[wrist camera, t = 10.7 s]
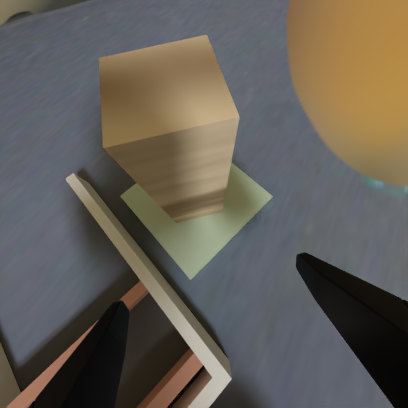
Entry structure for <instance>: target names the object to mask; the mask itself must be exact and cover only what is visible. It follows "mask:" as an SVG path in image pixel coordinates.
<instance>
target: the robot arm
mask: <svg viewBox="0 0 408 408" xmlns="http://www.w3.org/2000/svg"><path fill="white" fill-rule="evenodd" d="M296 268H297V270H298V272H299V274H300V275H301V277H302V279H303V280H304V282H305V284H306V285H307V287H308V289H309V290H310V292H311V294H312V295H313V297H314V299H315V300H316V301H317V303H318V304H319V306H320V307H321V308H322V310H323V311H324V313H325V314H326V315H327V317H328V318H329V319H330V321H331V322H332V323H333V325H334V326H335V328H336V329H337V330H338V332H339V333H340V334H341V336H342V337H343V338H344V340H345V341H346V343H347V344H348V345H349V347H350V348H351V349H352V351H353V352H354V353H355V355H356V356H357V358H358V359H359V360H360V362H361V363H362V364H363V366H364V367H365V368H366V370H367V371H368V373H369V374H370V375H371V377H372V378H373V379H374V381H375V382H376V383H377V385H378V386H379V388H380V389H381V390H382V392H383V393H384V394H385V396H386V397H387V398H388V400H389V401H390V403H391V404H392V405H393V407H394V408H408V301H406V300H402V299H401V298H399V297H397V296H395V295H393V294H391V293H389V292H387V291H385V290H382V289H380V288H378V287H376V286H374V285H372V284H370V283H368V282H366V281H364V280H362V279H360V278H358V277H355V276H353V275H351V274H349V273H347V272H345V271H343V270H341V269H339V268H337V267H335V266H333V265H331V264H328V263H326V262H324V261H322V260H320V259H318V258H316V257H314V256H312V255H310V254H308V253H300V254H297V257H296ZM129 316H130V313H129V309H128V308H127V306H126V305H125V303H124V302H123V301H122V300H120V301H116V302H114V303H112V304H111V306H110V307H109V308H108V309H107V310H106V312H105V313H104V314H103V315H102V317H101V318H100V319H99V320H98V322H97V323H96V324H95V325H94V327H93V328H92V329H91V330H90V332H89V333H88V334H87V335H86V337H85V338H84V339H83V340H82V341H81V343H80V344H79V345H78V346H77V348H76V349H75V350H74V351H73V353H72V354H71V355H70V356H69V358H68V359H67V360H66V361H65V363H64V364H63V365H62V366H61V367H60V369H59V370H58V371H57V372H56V374H55V375H54V376H53V377H52V379H51V380H50V381H49V382H48V384H47V385H46V386H45V387H44V389H43V390H42V391H41V392H40V394H39V395H38V396H37V397H36V399H35V401H33V402H32V403H31V405H30V406H29V407H28V408H115V405H116V400H117V395H118V389H119V384H120V379H121V374H122V369H123V363H124V358H125V353H126V345H127V336H128V326H129Z"/></svg>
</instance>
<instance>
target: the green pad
mask: <svg viewBox="0 0 408 408" xmlns="http://www.w3.org/2000/svg"><path fill="white" fill-rule="evenodd" d="M120 197H121V198H122V199H123V200H124V201H125V203H126V204H127V205H128V206H129V207H130V209H131V210H132V211H133V212H134V213H135V214H136V216H137V217H138V218H139V219H140V220H141V222H142V223H143V224H144V225H145V226H146V228H147V229H148V230H149V231H150V232H151V234H152V235H153V236H154V237H155V238H156V239H157V241H158V242H159V243H160V244H161V245H162V247H163V248H164V249H165V250H166V251H167V253H168V254H169V255H170V256H171V257H172V258H173V260H174V261H175V262H176V263H177V264H178V266H179V267H180V268H181V269H182V270H183V272H184V273H185V274H186V275H187V276H188V277H189V279H190V280H191V279H192V278H193V277H194V276H195V275H196V274H197V273H198V272H199V271H200V270H201V269H202V268H203V267H204V266H205V265H206V264H207V263H208V262H209V261H210V260H211V259H212V258H213V257H214V256H215V255H216V254H217V253H218V252H219V251H220V250H221V249H222V248H223V247H224V246H225V245H226V244H227V243H228V242H229V241H230V240H231V239H232V238H233V237H234V236H235V235H236V234H237V233H238V232H239V231H240V229H241V228H242V227H243V226H244V225H245V224H246V223H247V222H248V221H249V220H250V219H251V218H252V217H253V216H254V215H255V214H256V213H257V212H258V211H259V210H260V209H261V208H262V207H263V206H264V205H265V204H266V203H267V202H268V201H269V200H270V199H271V198H272V197H273V196H271V195H270V194H269V193H268V192H267V191H265V190H264V189H263V188H262V187H261V186H259V185H258V184H257V183H256V182H255V181H253V180H252V179H251V178H250V177H249V176H247V175H246V174H245V173H244V172H243V171H241V170H240V169H239V168H238V167H237V166H235V165H234V164H233V163H232V162H231V166H230V172H229V177H228V183H227V188H226V194H225V199H224V205H223V211H222V212H220V213H216V214H212V215H208V216H204V217H200V218H196V219H192V220H188V221H184V222H179V223H176V222H175V221H174V220H173V219H172V218H171V217H170V216H169V215H168V214H167V213H166V212H165V211H164V210H163V209H162V208H161V207H160V206H159V205H158V204H157V203H156V202H155V201H154V200H153V199H152V198H151V197H150V196H149V195H148V194H147V193H146V192H145V191H144V190H143V189H142V188H141V187H140V186H139V185H138V184H137V183H136V184H134V185H133V186H132V187H131V188H129V189H128V190H127V191H126V192H124V193H123V194H122V195H121V196H120Z"/></svg>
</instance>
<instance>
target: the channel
mask: <svg viewBox="0 0 408 408" xmlns="http://www.w3.org/2000/svg"><path fill="white" fill-rule="evenodd" d="M66 181H67V182H68V183H69V185H70V186H71V187H72V189H73V190H74V191H75V193H76V194H77V195H78V197H79V198H80V199H81V201H82V202H83V204H84V205H85V206H86V208H87V209H88V210H89V212H90V213H91V214H92V216H93V217H94V218H95V220H96V221H97V222H98V224H99V225H100V226H101V228H102V229H103V230H104V232H105V233H106V235H107V236H108V237H109V239H110V240H111V241H112V243H113V244H114V245H115V247H116V248H117V249H118V251H119V252H120V253H121V255H122V256H123V257H124V259H125V260H126V262H127V263H128V264H129V266H130V267H131V268H132V270H133V271H134V272H135V274H136V275H137V276H138V278H139V279H140V280H141V282H142V283H143V284H144V286H145V287H146V289H147V290H148V291H149V293H150V294H151V295H152V297H153V298H154V299H155V301H156V302H157V303H158V305H159V306H160V307H161V309H162V310H163V311H164V313H165V314H166V316H167V317H168V318H169V320H170V321H171V322H172V324H173V325H174V326H175V328H176V329H177V330H178V332H179V333H180V334H181V336H182V337H183V338H184V340H185V341H186V343H187V344H188V345H189V347H190V348H191V349H192V351H193V352H194V353H195V355H196V356H197V357H198V359H199V360H200V361H201V363H202V364H203V365H204V367H205V369H204V370H203V371H202V372H201V373H200V374H199V376H198V377H197V378H196V379H195V380H194V381H193V383H192V384H191V385H190V386H189V387H188V388H187V390H186V391H185V392H184V393H183V394H182V396H181V397H180V398H179V399H178V400H177V401H176V403H175V404H174V405H173V406H172V407H171V408H209V407H210V406H211V404H212V403H213V402H214V401H215V399H216V398H217V397H218V396H219V394H220V393H221V392H222V391H223V389H224V388H225V387H226V386H227V384H228V383H229V382H230V381H231V380H232V376H231V370H230V363H229V359H228V358H227V357H226V356H225V354H224V353H223V352H222V350H221V349H220V348H219V347H218V345H217V344H216V343H215V342H214V340H213V339H212V338H211V337H210V335H209V334H208V333H207V332H206V330H205V329H204V328H203V326H202V325H201V324H200V323H199V321H198V320H197V319H196V318H195V316H194V315H193V314H192V313H191V311H190V310H189V309H188V308H187V306H186V305H185V304H184V303H183V301H182V300H181V299H180V297H179V296H178V295H177V294H176V292H175V291H174V290H173V289H172V287H171V286H170V285H169V284H168V282H167V281H166V280H165V279H164V277H163V276H162V275H161V273H160V272H159V271H158V270H157V268H156V267H155V266H154V265H153V263H152V262H151V261H150V260H149V258H148V257H147V256H146V255H145V253H144V252H143V251H142V249H141V248H140V247H139V246H138V244H137V243H136V242H135V241H134V239H133V238H132V237H131V236H130V234H129V233H128V232H127V231H126V229H125V228H124V227H123V225H122V224H121V223H120V222H119V220H118V219H117V218H116V217H115V215H114V214H113V213H112V212H111V210H110V209H109V208H108V207H107V205H106V204H105V203H104V201H103V200H102V199H101V198H100V196H99V195H98V194H97V193H96V191H95V190H94V189H93V188H92V186H91V185H90V184H89V183H88V182H86V181H85V180H83V179H82V178H80V177H79V176H77V175H75V174H74V173H73V174H71V175H70V176H69V177H67V178H66ZM20 394H21V392H20V389H19V387H18V384H17V382H16V379H15V377H14V374H13V372H12V370H11V367H10V365H9V362H8V360H7V357H6V355H5V353H4V350H3V348H2V345H1V343H0V408H6V407H7V406H8V405H9V404H10V403H11V402H12V401H13V400H14V399H15V398H16V397H17V396H18V395H20Z"/></svg>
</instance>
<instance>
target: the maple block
mask: <svg viewBox="0 0 408 408" xmlns="http://www.w3.org/2000/svg"><path fill="white" fill-rule="evenodd" d="M99 74H100V96H101V117H102V138H103V149H104V150H105V151H106V152H107V153H108V154H109V155H110V156H111V157H112V158H113V159H114V160H115V161H116V162H117V163H118V164H119V165H120V166H121V167H122V168H123V169H124V170H125V171H126V172H127V173H128V174H129V175H130V176H131V177H132V178H133V179H134V180H135V181H136V183H137V184H138V185H139V186H140V187H141V188H142V189H143V190H144V191H145V192H146V193H147V194H148V195H149V196H150V197H151V198H152V199H153V200H154V201H155V202H156V203H157V204H158V205H159V206H160V207H161V208H162V209H163V210H164V211H165V212H166V213H167V214H168V215H169V216H170V217H171V218H172V219H173V220H174V221H175V222H176V223H179V222H184V221H188V220H192V219H196V218H200V217H204V216H208V215H212V214H216V213H220V212H222V211H223V205H224V199H225V194H226V188H227V183H228V177H229V172H230V166H231V161H232V155H233V150H234V144H235V139H236V133H237V128H238V122H239V114H238V112H237V109H236V107H235V104H234V102H233V99H232V97H231V94H230V92H229V89H228V87H227V84H226V82H225V79H224V77H223V74H222V72H221V69H220V67H219V64H218V62H217V59H216V57H215V54H214V52H213V49H212V47H211V44H210V42H209V39H208V37H207V35H203V36H199V37H194V38H189V39H185V40H180V41H176V42H171V43H166V44H162V45H157V46H153V47H148V48H143V49H139V50H134V51H129V52H125V53H120V54H116V55H111V56H106V57H102V58H99Z"/></svg>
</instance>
